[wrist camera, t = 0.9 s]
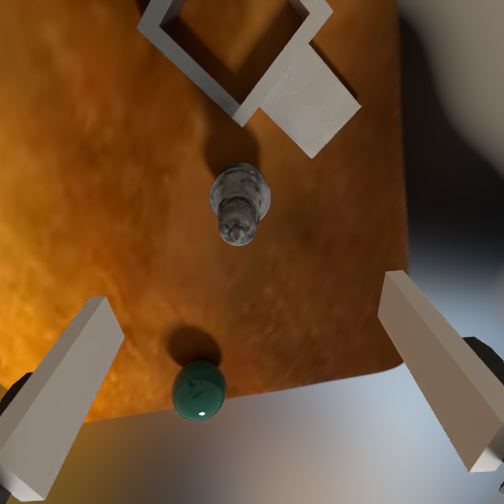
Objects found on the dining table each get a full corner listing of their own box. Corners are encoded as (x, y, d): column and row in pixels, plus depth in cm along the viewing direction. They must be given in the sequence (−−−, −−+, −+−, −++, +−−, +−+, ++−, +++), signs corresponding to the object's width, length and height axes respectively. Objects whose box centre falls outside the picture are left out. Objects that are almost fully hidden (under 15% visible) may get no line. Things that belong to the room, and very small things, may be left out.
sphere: (191, 341, 41) (180, 392, 34) (237, 360, 43) (235, 412, 36) (169, 371, 44) (154, 423, 37) (213, 387, 46) (207, 439, 39)
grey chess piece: (229, 148, 27) (217, 181, 17) (279, 178, 29) (296, 225, 18) (204, 197, 30) (179, 252, 19) (250, 222, 31) (251, 286, 21)
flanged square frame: (64, -44, 20) (42, -61, 18) (133, -226, 17) (116, -274, 14) (294, 173, 29) (297, 180, 26) (376, 85, 25) (389, 84, 22)
